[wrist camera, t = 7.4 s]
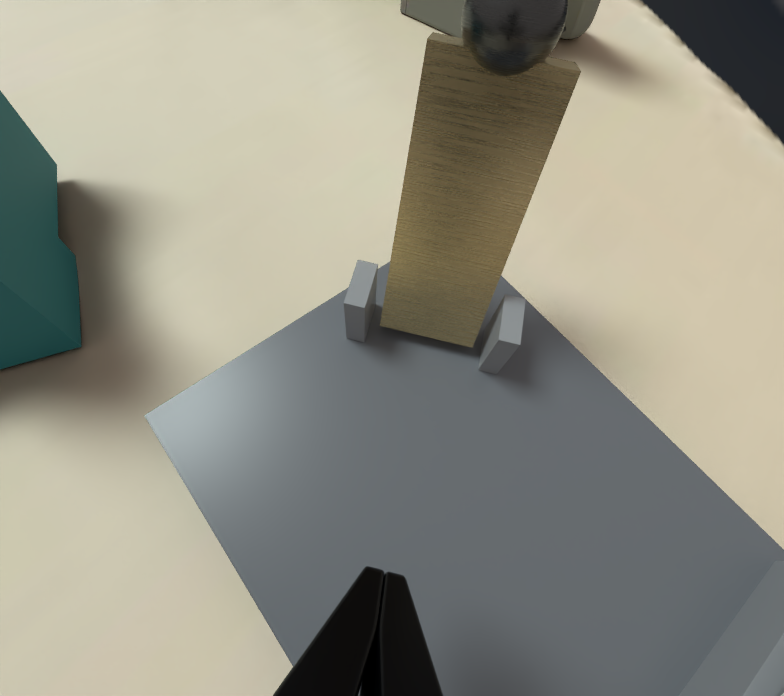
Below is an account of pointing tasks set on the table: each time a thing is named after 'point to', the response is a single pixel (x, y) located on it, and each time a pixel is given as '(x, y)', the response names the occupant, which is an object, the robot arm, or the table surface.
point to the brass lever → (474, 162)
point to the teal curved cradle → (32, 251)
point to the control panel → (478, 505)
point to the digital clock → (445, 3)
